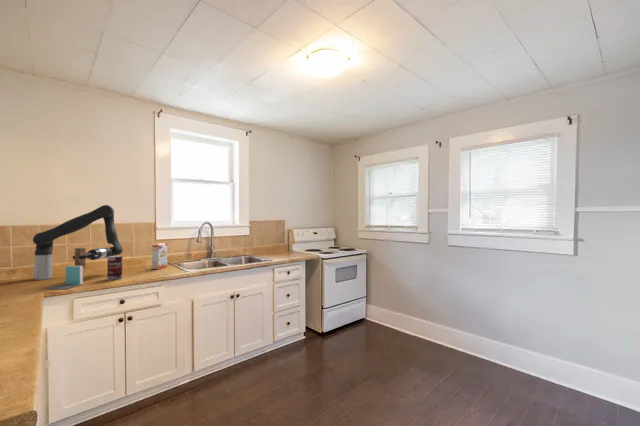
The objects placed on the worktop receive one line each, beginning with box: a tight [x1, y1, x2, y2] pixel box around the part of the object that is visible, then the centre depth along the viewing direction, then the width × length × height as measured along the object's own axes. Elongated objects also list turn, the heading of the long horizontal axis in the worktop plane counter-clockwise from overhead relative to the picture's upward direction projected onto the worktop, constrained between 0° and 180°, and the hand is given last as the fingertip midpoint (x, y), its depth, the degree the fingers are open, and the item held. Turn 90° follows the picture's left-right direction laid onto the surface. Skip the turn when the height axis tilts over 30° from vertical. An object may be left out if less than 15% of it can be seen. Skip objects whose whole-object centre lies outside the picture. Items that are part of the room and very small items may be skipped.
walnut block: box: [74, 247, 86, 270], centre depth 204 cm, size 4×4×14 cm
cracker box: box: [151, 242, 168, 270], centre depth 257 cm, size 14×6×21 cm, turn 179°
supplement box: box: [106, 255, 123, 281], centre depth 215 cm, size 9×5×16 cm, turn 117°
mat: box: [44, 283, 83, 290], centre depth 192 cm, size 14×12×1 cm
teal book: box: [65, 265, 84, 285], centre depth 199 cm, size 10×2×12 cm, turn 85°
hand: (76, 257), depth 201 cm, fingers closed on walnut block, 4 cm apart
